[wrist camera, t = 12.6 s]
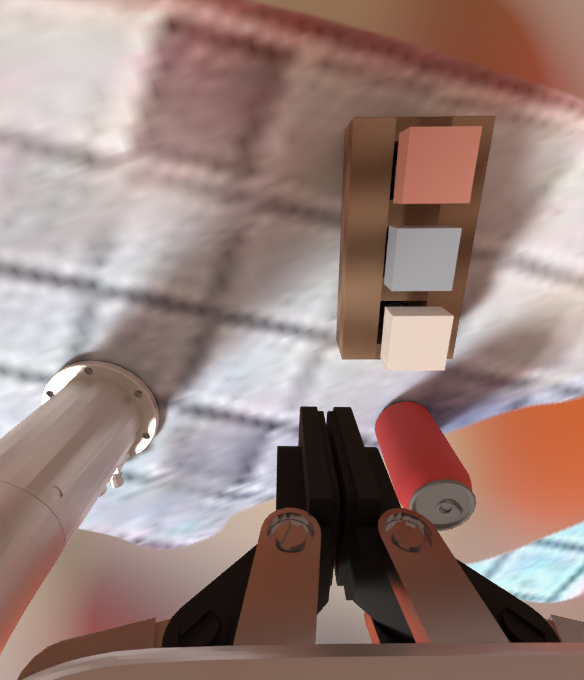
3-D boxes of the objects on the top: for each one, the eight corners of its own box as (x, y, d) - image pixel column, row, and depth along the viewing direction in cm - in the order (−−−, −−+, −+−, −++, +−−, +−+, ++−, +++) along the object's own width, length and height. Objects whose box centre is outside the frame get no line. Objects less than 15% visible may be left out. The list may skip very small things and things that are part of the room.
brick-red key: (429, 201, 30) (469, 203, 23) (377, 202, 30) (402, 203, 23) (437, 143, 29) (482, 125, 22) (382, 143, 29) (410, 126, 22)
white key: (414, 335, 34) (444, 370, 27) (368, 335, 34) (387, 370, 27) (420, 290, 33) (453, 315, 26) (372, 291, 33) (392, 316, 26)
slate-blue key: (418, 271, 33) (451, 290, 26) (371, 271, 33) (391, 291, 26) (425, 221, 31) (461, 228, 24) (375, 221, 31) (397, 228, 24)
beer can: (408, 454, 43) (449, 546, 31) (362, 432, 41) (387, 519, 30) (442, 413, 40) (499, 496, 29) (395, 389, 39) (435, 465, 28)
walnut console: (432, 338, 37) (452, 359, 32) (336, 339, 37) (342, 359, 32) (464, 128, 30) (495, 116, 25) (345, 129, 30) (354, 117, 25)
